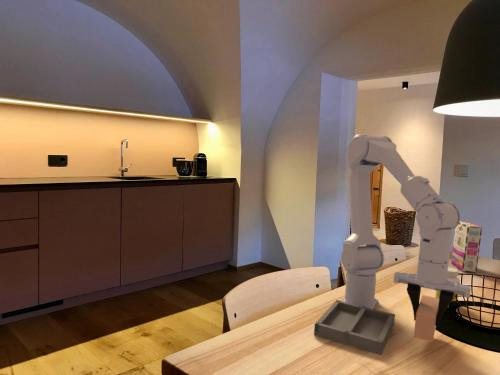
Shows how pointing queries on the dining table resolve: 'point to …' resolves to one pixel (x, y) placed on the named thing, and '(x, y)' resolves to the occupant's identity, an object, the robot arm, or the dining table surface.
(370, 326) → the grey divided tray
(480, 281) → the dining table surface
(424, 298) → the tan rectangular block
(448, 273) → the supplement bottle
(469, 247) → the candy bar box
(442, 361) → the dining table surface
